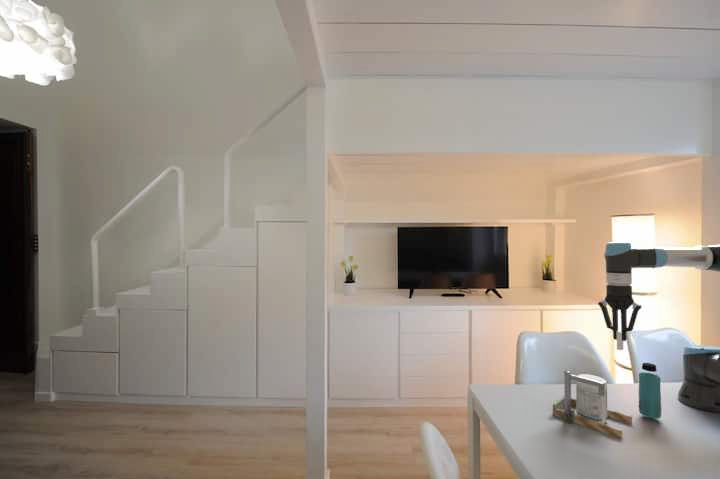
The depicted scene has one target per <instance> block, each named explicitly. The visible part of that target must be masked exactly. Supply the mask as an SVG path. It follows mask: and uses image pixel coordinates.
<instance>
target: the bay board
mask: <svg viewBox="0 0 720 479" xmlns="http://www.w3.org/2000/svg"><path fill="white" fill-rule="evenodd" d="M572 406H573V407H575V408H576V398H572V397H571V407H572ZM552 416H555V417H556V418H557V417H558V418H560V419H564V395H563V396H561V397H560V398H559V399H558V400H555V402H554V403H553V404H552ZM607 418H611V419H614V420H617V421H620V422H622V423H627V424H630V425H632V424H633V416H632V415H629V414H625V413H623V412H619V411H616V410H613V409H609V408H607ZM571 423H575V424H578V425H581V426H584V427H586V428H589V429H592V430H595V431H598V432H601V433H604V434H607V435H610V436H611V437H612V436H613V437H616V438H618V439H623V429H620V428H617V427H614V426H611V425H608V424H606V423H605V424H603V423H600V422H596V421H593V420H590V419H587V418H584V417H581V416H578V415H577V414H576V412H575V409H572V408H571Z"/></svg>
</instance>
